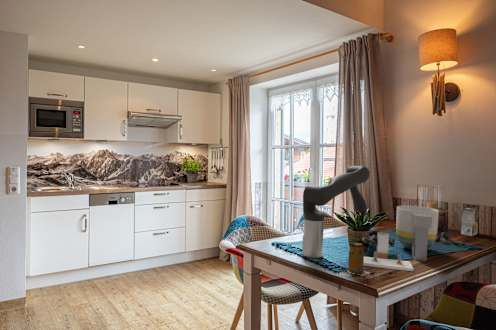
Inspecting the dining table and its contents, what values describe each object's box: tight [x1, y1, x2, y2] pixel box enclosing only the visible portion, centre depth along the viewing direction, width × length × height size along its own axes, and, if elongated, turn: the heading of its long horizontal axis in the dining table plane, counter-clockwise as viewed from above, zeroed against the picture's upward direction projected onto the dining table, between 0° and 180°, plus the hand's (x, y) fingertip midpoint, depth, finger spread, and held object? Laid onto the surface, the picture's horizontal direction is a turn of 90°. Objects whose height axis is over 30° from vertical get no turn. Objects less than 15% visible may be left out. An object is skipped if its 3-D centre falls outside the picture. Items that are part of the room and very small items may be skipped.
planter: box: [395, 205, 440, 251], centre depth 180 cm, size 20×20×21 cm
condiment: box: [347, 241, 371, 278], centre depth 143 cm, size 7×8×12 cm
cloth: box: [434, 231, 463, 247], centre depth 196 cm, size 22×19×6 cm
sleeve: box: [376, 232, 390, 259], centre depth 166 cm, size 5×5×11 cm
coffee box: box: [460, 207, 480, 237], centre depth 218 cm, size 9×6×16 cm
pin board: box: [363, 251, 415, 272], centre depth 154 cm, size 20×10×5 cm, turn 74°
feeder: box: [411, 213, 432, 262], centre depth 165 cm, size 7×9×21 cm
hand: (383, 244), depth 164 cm, fingers open, 8 cm apart
